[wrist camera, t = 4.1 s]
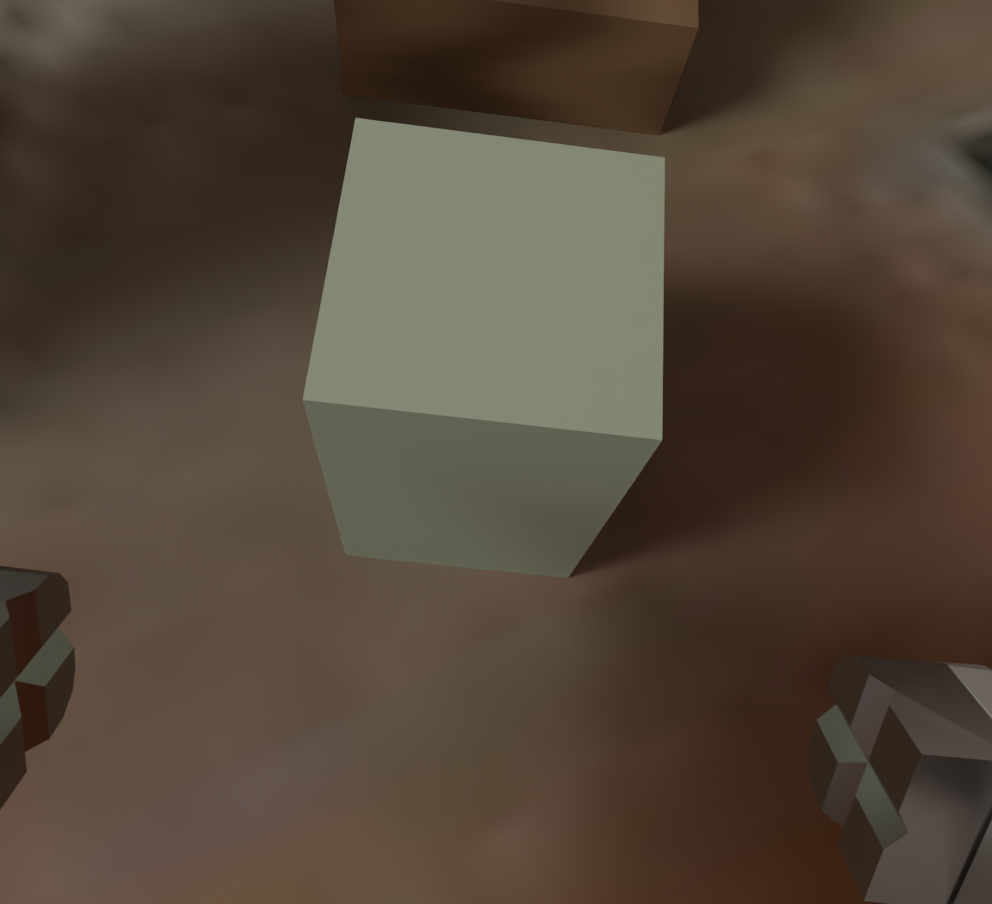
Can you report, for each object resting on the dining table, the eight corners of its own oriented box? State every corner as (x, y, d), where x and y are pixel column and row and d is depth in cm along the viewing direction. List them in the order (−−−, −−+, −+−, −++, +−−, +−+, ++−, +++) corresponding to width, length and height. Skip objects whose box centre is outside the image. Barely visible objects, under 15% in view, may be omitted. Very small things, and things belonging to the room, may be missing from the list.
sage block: (345, 555, 19) (302, 400, 12) (376, 358, 21) (355, 117, 14) (568, 578, 19) (662, 440, 12) (578, 380, 21) (664, 157, 14)
